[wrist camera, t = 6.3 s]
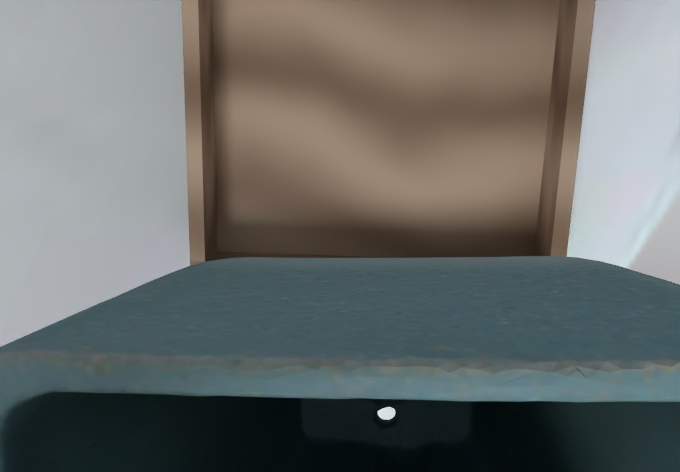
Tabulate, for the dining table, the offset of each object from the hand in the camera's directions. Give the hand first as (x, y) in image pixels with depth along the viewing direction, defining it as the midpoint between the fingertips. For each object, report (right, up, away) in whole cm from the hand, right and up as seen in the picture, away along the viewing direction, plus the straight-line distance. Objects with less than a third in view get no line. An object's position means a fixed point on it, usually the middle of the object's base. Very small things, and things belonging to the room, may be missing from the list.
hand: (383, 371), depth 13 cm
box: (+1, +11, +15) cm, 19 cm away
